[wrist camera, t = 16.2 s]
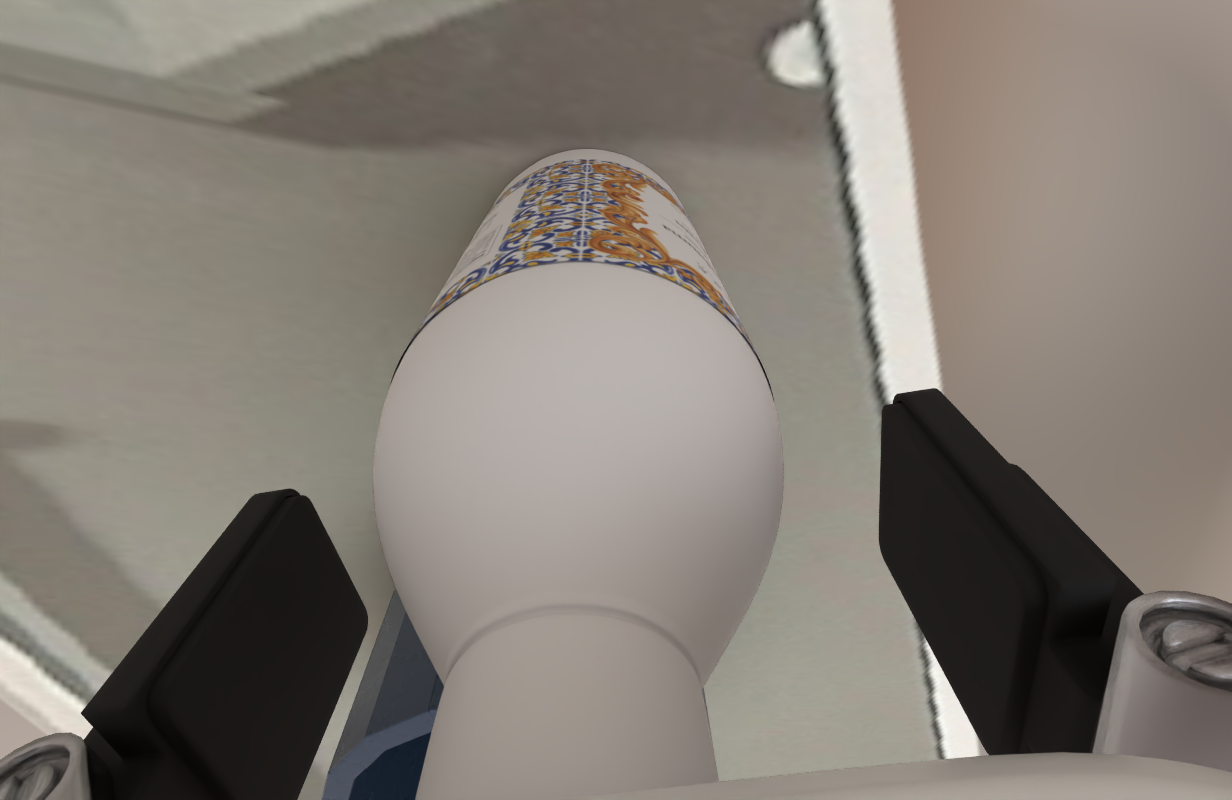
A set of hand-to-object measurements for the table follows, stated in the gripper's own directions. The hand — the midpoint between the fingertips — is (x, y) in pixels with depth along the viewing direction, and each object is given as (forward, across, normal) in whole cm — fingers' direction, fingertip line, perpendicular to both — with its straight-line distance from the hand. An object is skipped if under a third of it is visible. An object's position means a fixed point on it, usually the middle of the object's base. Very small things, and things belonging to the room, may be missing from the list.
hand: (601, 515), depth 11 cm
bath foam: (+13, 0, -1) cm, 13 cm away
